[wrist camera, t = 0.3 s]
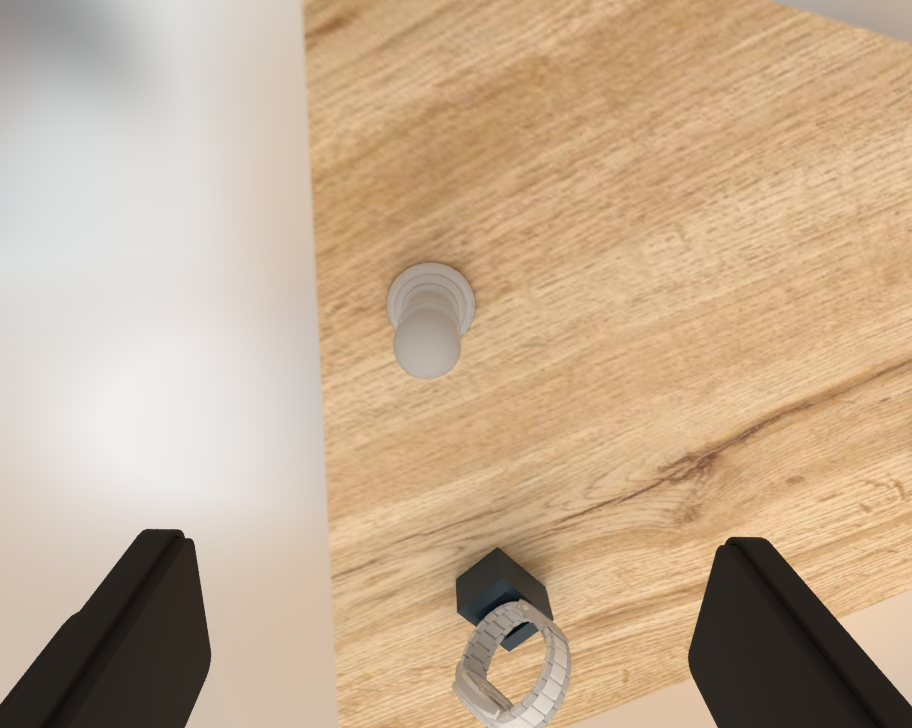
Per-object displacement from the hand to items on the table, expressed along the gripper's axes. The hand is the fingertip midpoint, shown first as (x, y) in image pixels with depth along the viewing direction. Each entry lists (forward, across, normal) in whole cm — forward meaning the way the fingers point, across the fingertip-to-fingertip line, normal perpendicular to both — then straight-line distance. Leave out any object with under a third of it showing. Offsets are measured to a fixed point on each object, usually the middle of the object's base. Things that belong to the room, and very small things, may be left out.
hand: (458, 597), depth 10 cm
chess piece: (+25, 0, +1) cm, 25 cm away
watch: (+25, -6, +23) cm, 35 cm away
